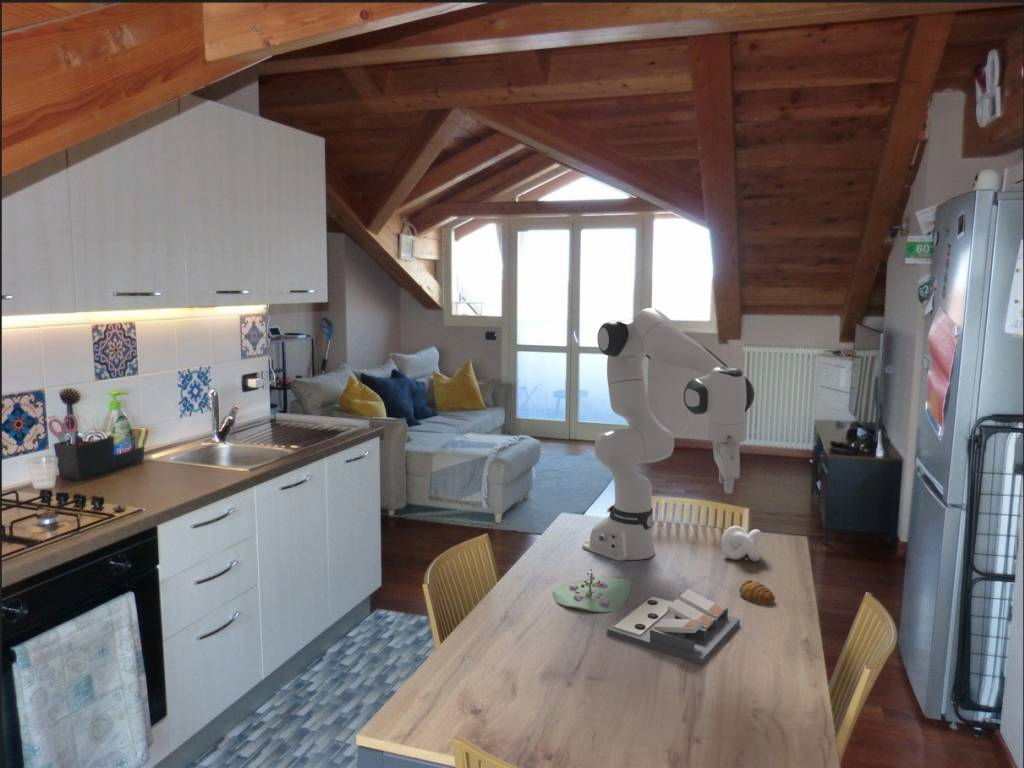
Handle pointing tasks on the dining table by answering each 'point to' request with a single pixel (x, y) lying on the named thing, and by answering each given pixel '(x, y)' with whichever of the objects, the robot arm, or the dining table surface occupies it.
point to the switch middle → (689, 613)
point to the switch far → (701, 604)
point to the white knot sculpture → (740, 543)
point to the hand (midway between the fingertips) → (725, 487)
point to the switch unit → (682, 645)
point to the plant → (594, 594)
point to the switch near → (679, 625)
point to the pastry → (756, 592)
